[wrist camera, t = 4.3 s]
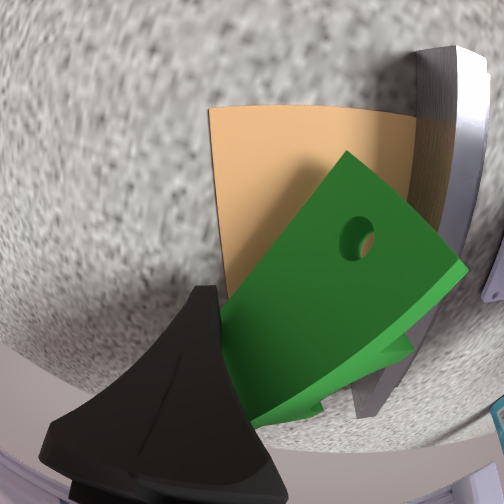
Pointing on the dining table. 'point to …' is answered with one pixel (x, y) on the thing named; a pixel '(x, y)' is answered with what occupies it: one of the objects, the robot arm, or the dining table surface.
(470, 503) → the robot arm
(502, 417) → the tube
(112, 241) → the dining table surface
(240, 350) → the pipe clamp
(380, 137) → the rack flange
